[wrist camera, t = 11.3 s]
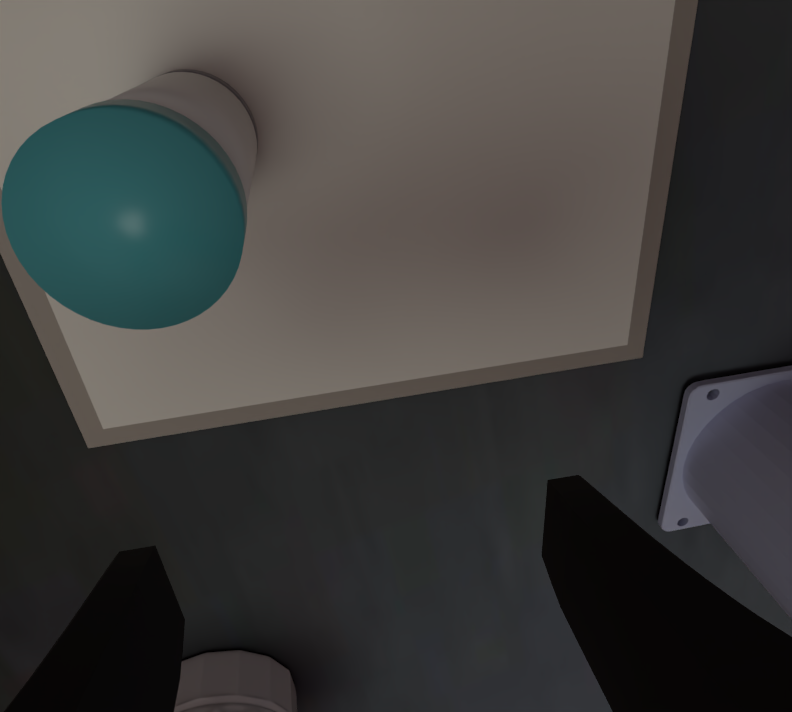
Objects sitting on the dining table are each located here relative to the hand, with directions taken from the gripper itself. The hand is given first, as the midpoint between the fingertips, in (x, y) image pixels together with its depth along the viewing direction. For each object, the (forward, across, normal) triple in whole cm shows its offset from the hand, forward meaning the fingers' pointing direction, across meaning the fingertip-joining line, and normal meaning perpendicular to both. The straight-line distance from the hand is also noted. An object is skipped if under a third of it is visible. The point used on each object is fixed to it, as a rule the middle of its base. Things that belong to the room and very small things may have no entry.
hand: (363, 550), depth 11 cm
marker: (+9, +3, -6) cm, 11 cm away
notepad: (+10, -1, -4) cm, 11 cm away
